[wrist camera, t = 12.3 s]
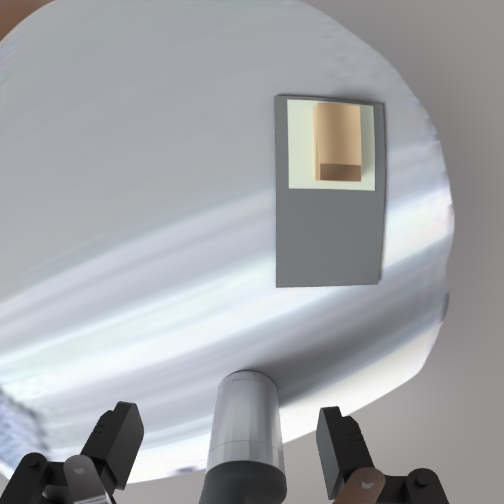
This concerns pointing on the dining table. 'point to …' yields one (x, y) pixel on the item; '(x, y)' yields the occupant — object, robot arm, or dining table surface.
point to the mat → (327, 202)
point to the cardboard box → (337, 142)
